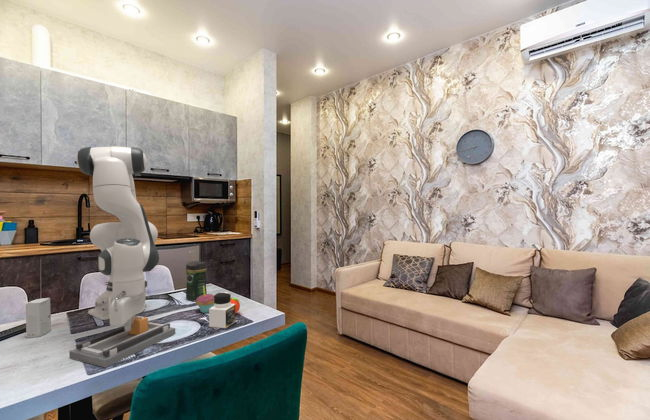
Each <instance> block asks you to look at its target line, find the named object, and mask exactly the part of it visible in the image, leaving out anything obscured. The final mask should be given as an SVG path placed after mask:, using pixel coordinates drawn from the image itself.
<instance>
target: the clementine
mask: <svg viewBox="0 0 650 420" xmlns="http://www.w3.org/2000/svg"><path fill="white" fill-rule="evenodd" d="M230 304H235V315H236V314H237V313H238V312H239V311H240V309H241V305H242V301H241V300H240V299H238V298H235V297H231V303H230Z"/></svg>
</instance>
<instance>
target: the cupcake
mask: <svg viewBox="0 0 650 420" xmlns="http://www.w3.org/2000/svg"><path fill="white" fill-rule="evenodd" d="M203 292H204V295H201V296H199V297H198V298H197V299H196V301H195V305H197V307H198V308H199V311H200V312H201V313H203V314H204V313H209V309H210V308H211V307H213V306H215V305H214V295H215V294H211V293H207V294H205V286H204V285H203Z"/></svg>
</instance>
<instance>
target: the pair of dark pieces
mask: <svg viewBox="0 0 650 420" xmlns="http://www.w3.org/2000/svg"><path fill="white" fill-rule="evenodd" d="M162 325H163V326H161V327H158V328H156V329H154V330H151V331H149V332H147V333H144V334H142V335H140V336H138V337H135V338H133V339H131V340H128V341H126V342H124V343H121V344H119V345H117V346H114V347H112V348H110V349H107V350H105V351H103V356H108V355H109V351H110V350H113V349H115V348H117V351H119V350H121V349H123V348H125V347H128V346H130V345H132V344H134V343H136V342H139V341H141V340H143V339H145V338H148V337H150V336H152V335H154V334H156V333H159V332H161V331H163V327H165V326H167V325H168V328H170V327H171V324H170V323H166V324H162ZM124 331H125V326H124V325H123V326H121V327H119V328H117V329H114V330H111V331H109V332H106V333H104V334H101V335H99V336H96V337H94V338H93V337H92V338H90V339H88V340H85V342H84V341H82V342H79V343H80V344H79V343H77V344H76V345H75V349H81V348H82V344H85V343H87V342H90V345H91V344H94V343H96V342H99V341H101V340H104V339H106V338H109V337H111V336H114V335H116V334H119V333H121V332H124Z"/></svg>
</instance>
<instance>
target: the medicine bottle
mask: <svg viewBox="0 0 650 420" xmlns="http://www.w3.org/2000/svg"><path fill="white" fill-rule="evenodd" d="M213 295H214V306H213V307H211V308H210V309H209V312H208V317H209V319H208V320H209V321H208V324H209V325H208V327H210V328H216V329H217V328H218V329H227V328H228V327H230V326H231V325H233V324H234V323H235V322H236V314H235V304H230V303H231V298H232V296H231V293H230V292H227V291H221V292H218V293H216V294H213Z"/></svg>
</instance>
